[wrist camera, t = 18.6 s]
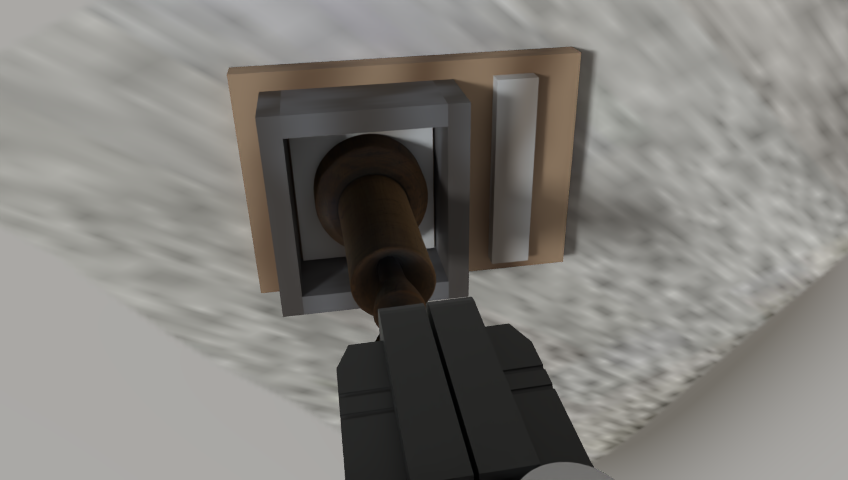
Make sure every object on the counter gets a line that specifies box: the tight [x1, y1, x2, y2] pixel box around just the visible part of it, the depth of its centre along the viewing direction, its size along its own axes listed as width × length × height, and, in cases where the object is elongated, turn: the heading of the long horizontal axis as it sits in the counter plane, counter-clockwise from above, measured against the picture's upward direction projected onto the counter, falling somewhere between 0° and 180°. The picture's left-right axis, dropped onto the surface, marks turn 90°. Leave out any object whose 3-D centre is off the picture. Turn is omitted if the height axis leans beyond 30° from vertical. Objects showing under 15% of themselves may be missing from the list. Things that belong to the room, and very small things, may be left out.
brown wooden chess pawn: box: [314, 134, 436, 342], centre depth 33 cm, size 7×6×18 cm
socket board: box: [227, 47, 581, 317], centre depth 41 cm, size 20×14×6 cm
